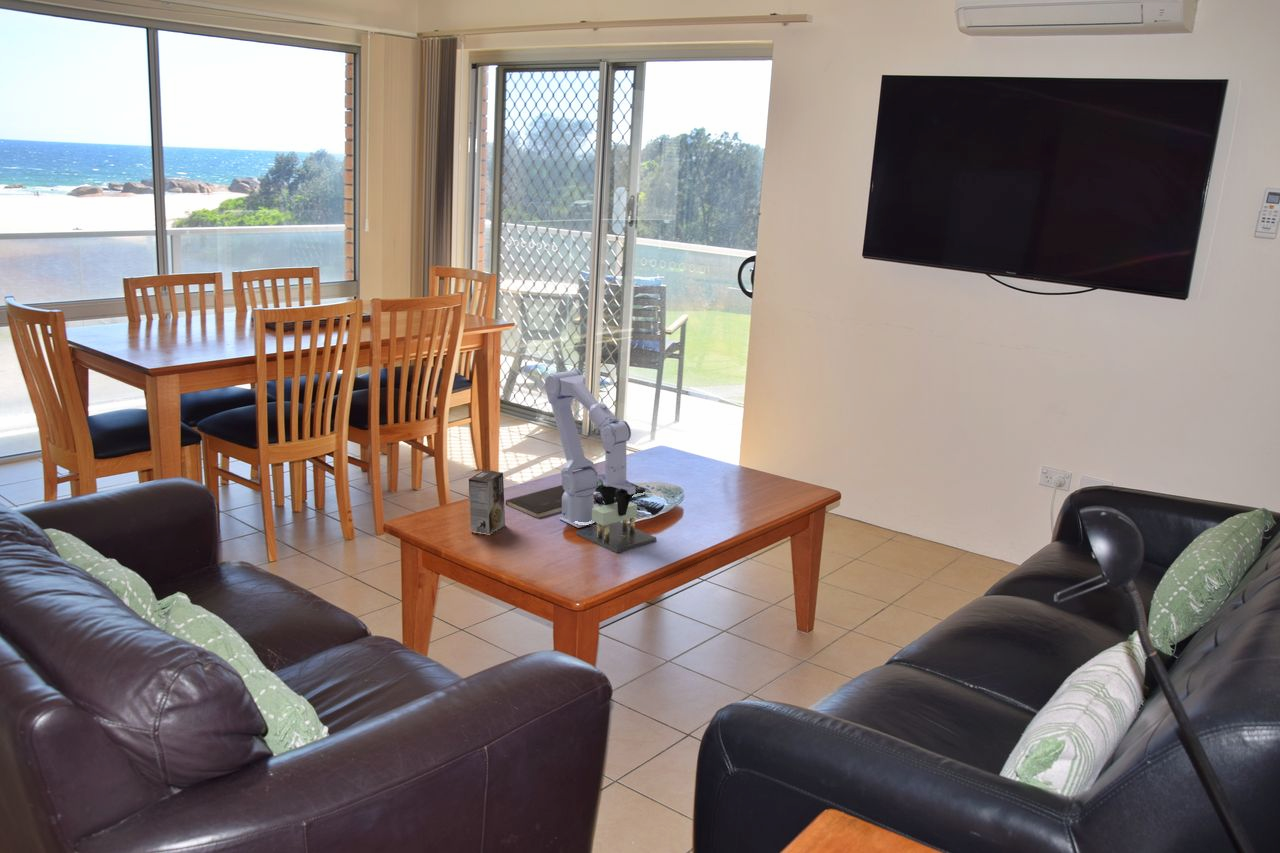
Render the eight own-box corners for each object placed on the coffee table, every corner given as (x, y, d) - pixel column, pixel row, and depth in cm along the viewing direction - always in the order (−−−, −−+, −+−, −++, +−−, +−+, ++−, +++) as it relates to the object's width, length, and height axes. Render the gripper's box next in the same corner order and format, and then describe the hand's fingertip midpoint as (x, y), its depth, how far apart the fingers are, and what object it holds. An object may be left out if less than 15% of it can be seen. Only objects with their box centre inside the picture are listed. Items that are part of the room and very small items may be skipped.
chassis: (576, 534, 289) (576, 517, 287) (615, 523, 297) (615, 506, 296) (616, 553, 275) (616, 535, 274) (656, 540, 284) (656, 523, 283)
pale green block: (591, 520, 283) (591, 508, 282) (625, 511, 290) (625, 500, 289) (603, 525, 279) (603, 513, 278) (637, 516, 287) (637, 504, 286)
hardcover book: (597, 502, 316) (597, 495, 315) (537, 520, 301) (537, 512, 300) (565, 490, 327) (565, 483, 327) (505, 506, 312) (505, 499, 312)
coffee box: (486, 522, 297) (484, 469, 293) (505, 525, 295) (504, 471, 291) (469, 533, 289) (467, 478, 285) (490, 536, 287) (488, 481, 283)
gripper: (588, 461, 284) (588, 508, 287) (621, 474, 273) (621, 522, 277) (608, 457, 288) (608, 503, 292) (641, 469, 277) (641, 516, 281)
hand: (615, 512), depth 284 cm, fingers closed on pale green block, 5 cm apart
